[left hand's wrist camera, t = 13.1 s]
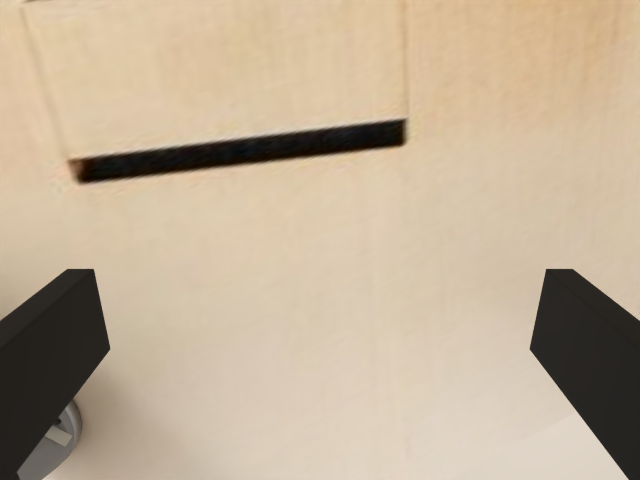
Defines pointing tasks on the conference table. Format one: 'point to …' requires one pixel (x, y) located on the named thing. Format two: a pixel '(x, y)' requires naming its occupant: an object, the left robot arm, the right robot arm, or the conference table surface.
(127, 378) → the conference table surface
